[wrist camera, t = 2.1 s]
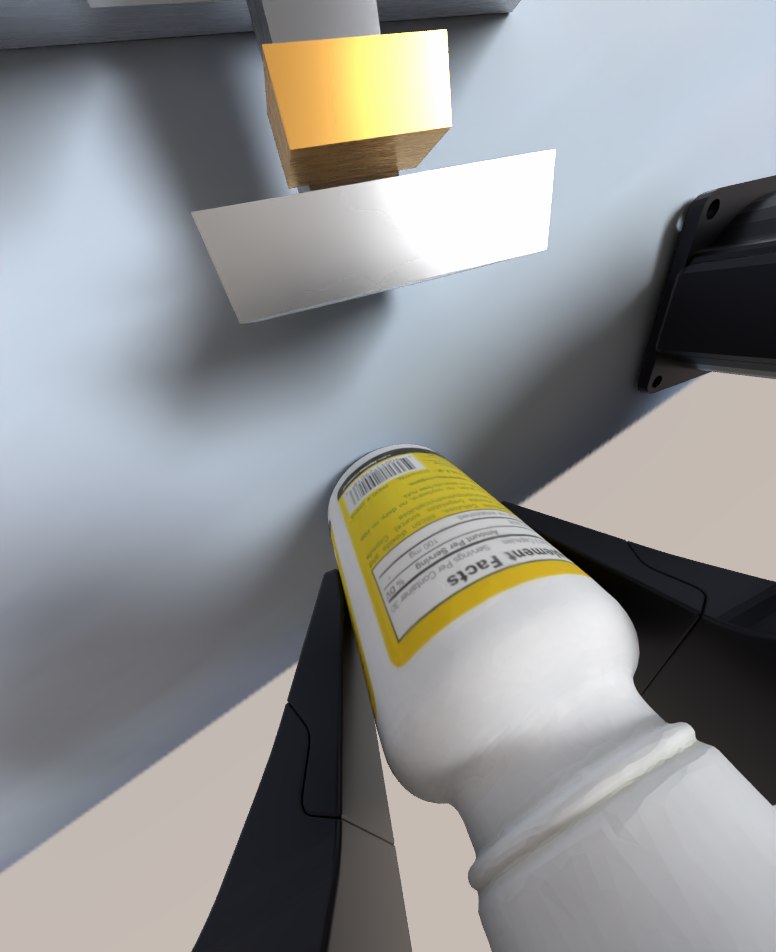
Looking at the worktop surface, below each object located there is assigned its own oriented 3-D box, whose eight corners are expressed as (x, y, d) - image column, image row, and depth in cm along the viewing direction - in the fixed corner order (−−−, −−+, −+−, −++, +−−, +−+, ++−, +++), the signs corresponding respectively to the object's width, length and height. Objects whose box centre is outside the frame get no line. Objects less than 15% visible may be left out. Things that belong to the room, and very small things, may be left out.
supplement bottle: (421, 557, 13) (635, 926, 5) (308, 547, 11) (383, 1209, 3) (475, 458, 11) (942, 794, 3) (354, 420, 9) (973, 1295, 1)
